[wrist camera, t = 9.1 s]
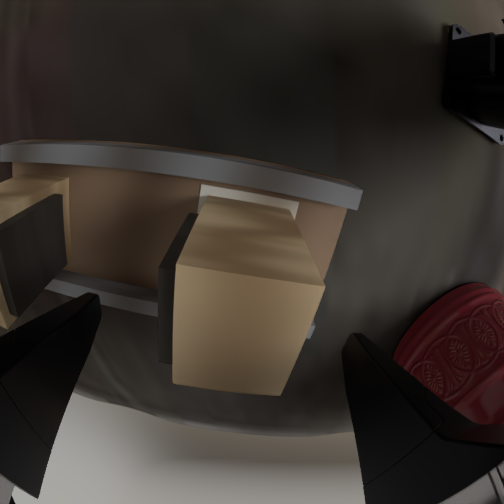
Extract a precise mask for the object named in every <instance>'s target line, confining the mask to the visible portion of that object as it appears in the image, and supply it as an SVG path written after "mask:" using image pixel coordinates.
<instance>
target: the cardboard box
mask: <svg viewBox="0 0 504 504" xmlns="http://www.w3.org/2000/svg"><path fill="white" fill-rule="evenodd" d="M324 290H325V284H324V282H323V280H322V278H321V275H320V273H319V271H318V269H317V267H316V264H315V262H314V260H313V258H312V256H311V253H310V251H309V249H308V247H307V245H306V243H305V241H304V239H303V236H302V234H301V232H300V230H299V228H298V226H297V224H296V222H295V220H294V218H293V216H292V214H291V212H290V210H289V209H286V208H280V207H275V206H270V205H264V204H258V203H253V202H247V201H241V200H235V199H229V198H223V197H217V196H211V195H208V196H207V198H206V200H205V203H204V205H203V207H202V209H201V211H200V213H199V214H196V213H189V214H188V215H187V217H186V219H185V220H184V222H183V224H182V226H181V227H180V229H179V231H178V233H177V234H176V236H175V238H174V240H173V242H172V243H171V245H170V247H169V249H168V251H167V252H166V254H165V256H164V258H163V260H162V262H161V263H160V265H159V267H158V351H159V362H163V363H168V364H173V383H175V384H180V385H186V386H192V387H198V388H205V389H212V390H220V391H228V392H237V393H247V394H259V395H273V396H281V393H282V391H283V389H284V387H285V385H286V382H287V380H288V378H289V376H290V374H291V371H292V369H293V367H294V365H295V362H296V360H297V358H298V355H299V353H300V351H301V348H302V346H303V343H304V341H305V338H306V336H307V334H308V331H309V329H310V326H311V324H312V321H313V319H314V316H315V313H316V311H317V308H318V306H319V303H320V300H321V298H322V295H323V292H324Z"/></svg>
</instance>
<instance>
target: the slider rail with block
mask: <svg viewBox="0 0 504 504" xmlns="http://www.w3.org/2000/svg"><path fill="white" fill-rule="evenodd" d="M0 162H12V177H13V178H11V179H8V180H6V181H3V182H1V183H0V326H2V327H4V328H6V329H8V328H9V327H10V326H11V325H12V323H13V322H14V321H15V320H16V319H17V317H18V318H19V317H20V316H21V314H22V313H23V312H24V311H25V310H26V309H27V307H28V306H29V305H30V304H31V303H32V302H33V300H34V299H35V298H36V297H37V296H38V295H39V294H40V293H41V292H42V291H43V289H47V290H50V291H54V292H57V293H60V294H64V295H67V296H71V297H75V298H77V297H79V296H81V295H83V294H85V293H87V292H92V293H96V294H98V295H99V297H100V304H102V305H106V306H110V307H114V308H118V309H123V310H127V311H131V312H136V313H141V314H145V315H150V316H155V317H158V267H159V265H160V263H161V262H162V260H163V258H164V256H165V254H166V252H167V251H168V249H169V247H170V245H171V243H172V242H173V240H174V238H175V236H176V234H177V233H178V231H179V229H180V227H181V226H182V224H183V222H184V220H185V219H186V217H187V215H188V214H189V213H196V214H199V213H200V211H201V209H202V207H203V205H204V203H205V200H206V198H207V196H208V195H211V196H217V197H223V198H229V199H235V200H241V201H247V202H253V203H258V204H264V205H270V206H275V207H280V208H286V209H289V210H290V212H291V214H292V216H293V218H294V220H295V222H296V224H297V226H298V228H299V230H300V232H301V234H302V236H303V239H304V241H305V243H306V245H307V247H308V249H309V251H310V253H311V256H312V258H313V260H314V262H315V264H316V267H317V269H318V271H319V273H320V275H321V278H322V280H323V281H324V278H325V275H326V273H327V270H328V267H329V264H330V261H331V258H332V255H333V252H334V249H335V246H336V243H337V240H338V237H339V234H340V231H341V228H342V225H343V221H344V218H345V215H346V212H347V208H349V209H353V210H358V206H359V203H360V200H361V196H362V193H363V190H361V189H360V188H358V187H357V186H355V185H353V184H352V183H350V182H349V181H346V180H342V179H339V178H335V177H331V176H327V175H323V174H319V173H315V172H311V171H307V170H302V169H298V168H294V167H289V166H285V165H280V164H275V163H270V162H265V161H260V160H255V159H250V158H244V157H239V156H233V155H227V154H221V153H215V152H208V151H201V150H194V149H187V148H179V147H171V146H162V145H152V144H142V143H130V142H116V141H99V140H69V139H37V140H20V141H16V142H11V143H7V144H3V145H0ZM314 328H315V324H314V320H313V321H312V324H311V326H310V329H309V331H308V334H307V336H306V338H308V339H310V337H311V335H312V333H313V330H314Z"/></svg>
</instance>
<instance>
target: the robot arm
mask: <svg viewBox="0 0 504 504" xmlns="http://www.w3.org/2000/svg"><path fill="white" fill-rule="evenodd" d="M501 20H502V21H503V23H504V19H501ZM456 30H457V31H456ZM457 32H458V33H457ZM449 100H450V102H451V105H450V104H449ZM442 103H443V106H444V108H445V109H446V110H448V111H450V112H451V113H453V114H455V115H456V116H458V117H459V118H461V119H463V120H464V121H466V122H467V123H469V124H470V125H472V126H473V127H475V128H476V129H478V130H479V131H480V132H482V133H483V134H485V135H486V136H487V137H489V138H490V139H492V140H493V141H494V142H495V143H497V144H500V145H503V144H504V34H498V35H495V34H494V33H492V32H490V33H484V34H478V35H473V36H472V35H471V34H470V33H469V32H467V31H466V30H465V29H463V28H462V27H461V26H459V25H457V24H453V25H451V26H450V28H449V42H448V54H447V65H446V76H445V84H444V91H443V97H442ZM101 316H102V312H101V304H100V297H99V295H98V294H96V293H92V292H87V293H85V294H83V295H81V296H79V297H77V298H75V299H73V300H71V301H69V302H67V303H65V304H63V305H61V306H59V307H57V308H55V309H53V310H51V311H49V312H47V313H45V314H43V315H41V316H39V317H37V318H35V319H33V320H31V321H29V322H27V323H25V324H23V325H21V326H20V327H18V328H16V329H15V330H12V331H10V332H8V333H6V334H4V335H2V336H0V504H15V502H14V500H13V497H12V492H13V488H14V486H16V487H18V488H19V489H21V490H23V491H24V492H26V493H28V494H30V495H31V496H33V497H35V498H37V499H38V497H39V494H40V489H41V486H42V482H43V478H44V474H45V471H46V467H47V464H48V460H49V457H50V454H51V449H52V447H53V444H54V441H55V438H56V435H57V432H58V429H59V426H60V423H61V421H62V418H63V415H64V413H65V410H66V407H67V405H68V402H69V400H70V397H71V395H72V392H73V390H74V387H75V385H76V382H77V380H78V378H79V375H80V373H81V371H82V368H83V366H84V364H85V362H86V359H87V357H88V355H89V352H90V349H91V346H92V343H93V340H94V337H95V334H96V332H97V329H98V326H99V323H100V320H101ZM342 362H343V371H344V381H345V389H346V394H347V399H348V404H349V408H350V413H351V418H352V423H353V428H354V433H355V439H356V444H357V449H358V456H359V462H360V468H361V474H362V481H363V485H364V486H363V488H364V495H365V502H366V504H504V424H478V423H475V422H473V421H471V420H470V419H468V418H467V417H465V416H464V415H462V414H461V413H460V412H458V411H457V410H455V409H454V408H453V407H451V406H450V405H448V404H447V403H446V402H444V401H443V400H442V399H440V398H439V397H438V396H437V395H435V394H434V393H433V392H432V391H430V390H429V389H428V388H427V387H426V386H424V385H423V384H422V383H421V382H420V381H418V380H417V379H416V378H415V377H414V376H413V375H411V374H410V373H409V372H408V371H407V370H405V369H404V368H403V367H402V366H401V365H399V364H398V363H397V362H396V361H395V360H393V359H392V358H391V357H390V356H389V355H387V354H386V353H385V352H384V351H383V350H381V349H380V348H379V347H378V346H377V345H375V344H374V343H373V342H372V341H371V340H369V339H368V338H367V337H366V336H364V335H363V334H362V333H351V334H350V335H349V337H348V339H347V341H346V343H345V345H344V347H343V349H342Z"/></svg>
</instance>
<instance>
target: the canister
mask: <svg viewBox="0 0 504 504" xmlns="http://www.w3.org/2000/svg"><path fill="white" fill-rule="evenodd" d="M392 359H393V360H395V361H396V362H397V363H398V364H399V365H401V366H402V367H403V368H404V369H405V370H407V371H408V372H409V373H410V374H411V375H413V376H414V377H415V378H416V379H417V380H418V381H420V382H421V383H422V384H423V385H424V386H426V387H427V388H428V389H429V390H430V391H432V392H433V393H434V394H435V395H437V396H438V397H439V398H440V399H442V400H443V401H444V402H446V403H447V404H448V405H450V406H451V407H453V408H454V409H455V410H457V411H458V412H460V413H461V414H462V415H464V416H465V417H467V418H468V419H470V420H471V421H473V422H475V423H478V424H504V296H503V295H501V293H500V292H499V291H497V290H496V289H493V288H490V287H489V286H488V285H486V284H484V283H469V284H466V285H463V286H460V287H458V288H456V289H454V290H452V291H451V292H449V293H447V294H446V295H444V296H443V297H441V298H440V299H439V300H437V301H436V302H435V303H433V304H432V305H431V306H430V307H429V308H428V309H427V310H426V311H424V312H423V313H422V314H421V315H420V316H419V318H418V319H417V320H416V321H415V322H414V323H413V324H412V325H411V327H410V328H409V329H408V331H407V332H406V333H405V335H404V336H403V338H402V339H401V341H400V342H399V344H398V346H397V348H396V350H395V352H394V355H393V358H392Z"/></svg>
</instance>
